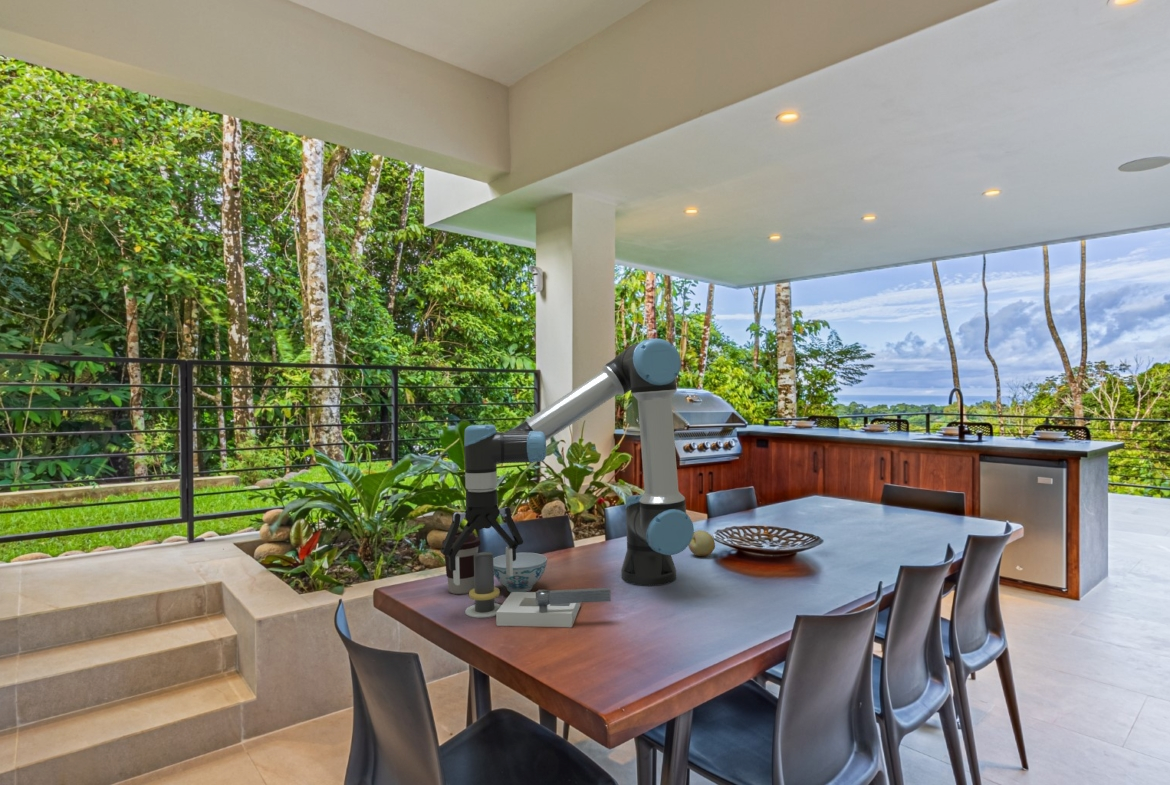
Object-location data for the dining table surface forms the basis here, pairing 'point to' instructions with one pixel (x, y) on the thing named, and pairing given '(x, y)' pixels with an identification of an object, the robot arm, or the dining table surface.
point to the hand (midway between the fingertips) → (483, 579)
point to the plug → (484, 583)
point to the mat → (472, 613)
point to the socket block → (535, 612)
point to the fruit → (702, 543)
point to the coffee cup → (463, 565)
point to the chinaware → (520, 571)
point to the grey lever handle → (572, 596)
